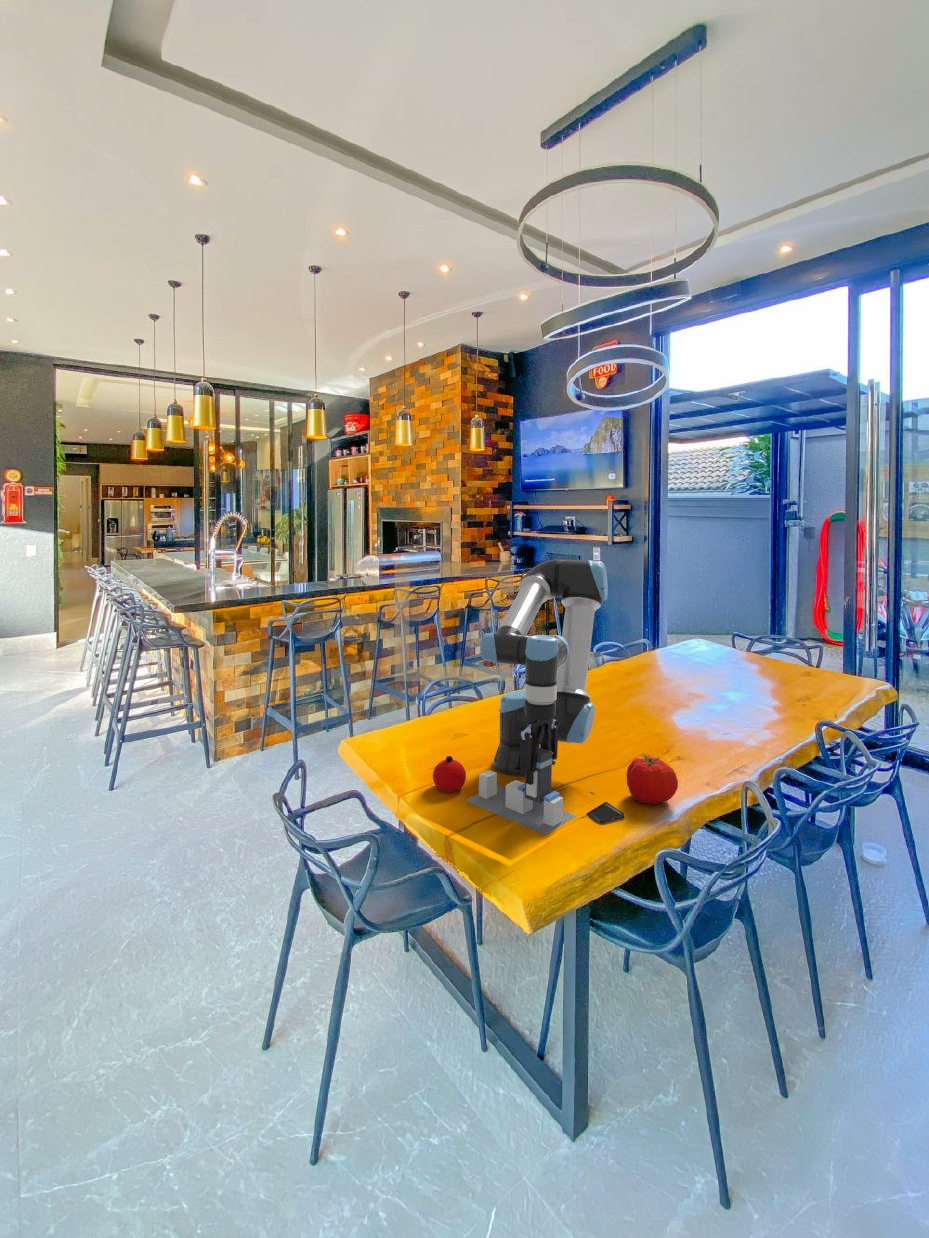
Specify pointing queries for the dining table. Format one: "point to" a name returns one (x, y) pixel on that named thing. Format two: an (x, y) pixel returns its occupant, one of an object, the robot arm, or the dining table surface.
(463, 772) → the ornament
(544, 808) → the grey plate with blocks
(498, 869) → the dining table surface
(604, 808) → the phone
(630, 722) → the dining table surface
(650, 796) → the tomato
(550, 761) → the plug
